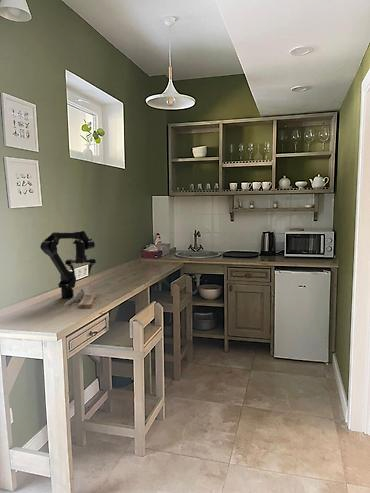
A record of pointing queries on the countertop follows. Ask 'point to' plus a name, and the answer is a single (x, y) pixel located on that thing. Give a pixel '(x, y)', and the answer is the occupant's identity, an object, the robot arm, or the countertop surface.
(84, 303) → the walnut board
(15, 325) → the countertop surface
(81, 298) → the caliper
